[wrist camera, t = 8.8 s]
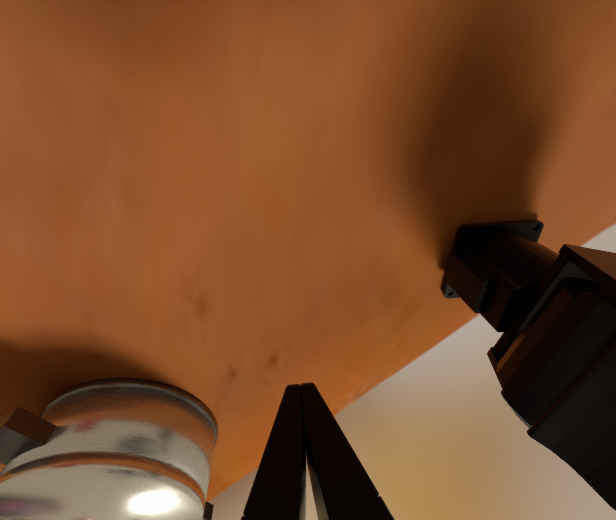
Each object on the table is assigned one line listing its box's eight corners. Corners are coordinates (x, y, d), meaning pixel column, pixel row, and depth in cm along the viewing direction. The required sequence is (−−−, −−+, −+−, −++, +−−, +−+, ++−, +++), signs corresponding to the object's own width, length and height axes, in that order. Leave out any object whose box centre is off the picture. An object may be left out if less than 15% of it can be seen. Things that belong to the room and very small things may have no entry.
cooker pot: (108, 332, 23) (60, 401, 18) (262, 446, 33) (260, 511, 28) (-29, 411, 26) (-105, 491, 21) (152, 494, 36) (132, 562, 31)
